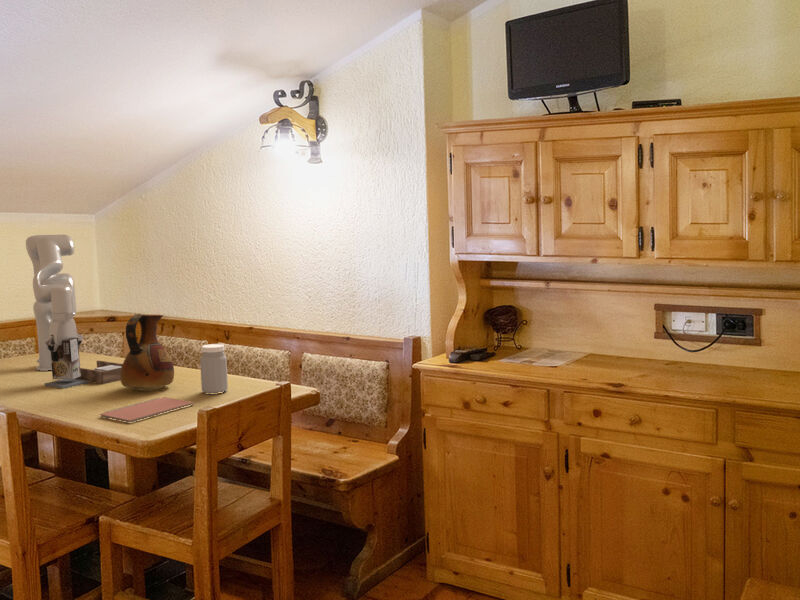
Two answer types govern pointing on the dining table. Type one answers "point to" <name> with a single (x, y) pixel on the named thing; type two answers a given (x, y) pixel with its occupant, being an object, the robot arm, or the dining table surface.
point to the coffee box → (67, 360)
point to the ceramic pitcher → (146, 357)
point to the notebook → (145, 409)
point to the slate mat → (66, 383)
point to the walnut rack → (101, 373)
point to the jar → (213, 369)
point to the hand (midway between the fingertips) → (65, 359)
